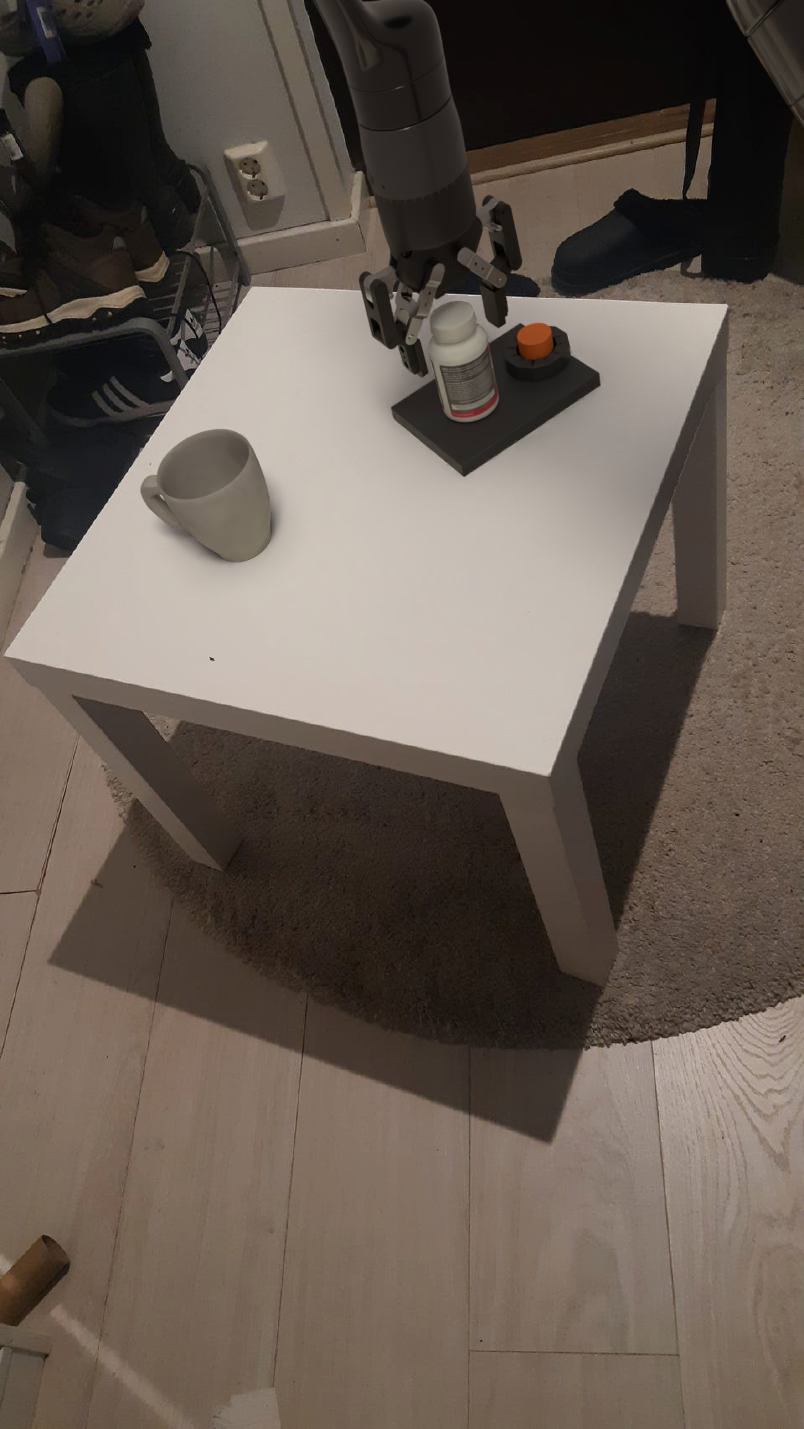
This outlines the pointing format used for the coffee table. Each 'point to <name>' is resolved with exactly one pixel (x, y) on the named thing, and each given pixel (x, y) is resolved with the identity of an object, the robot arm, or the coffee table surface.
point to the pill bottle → (462, 363)
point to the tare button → (535, 341)
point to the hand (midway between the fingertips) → (458, 347)
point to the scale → (500, 402)
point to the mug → (213, 493)
